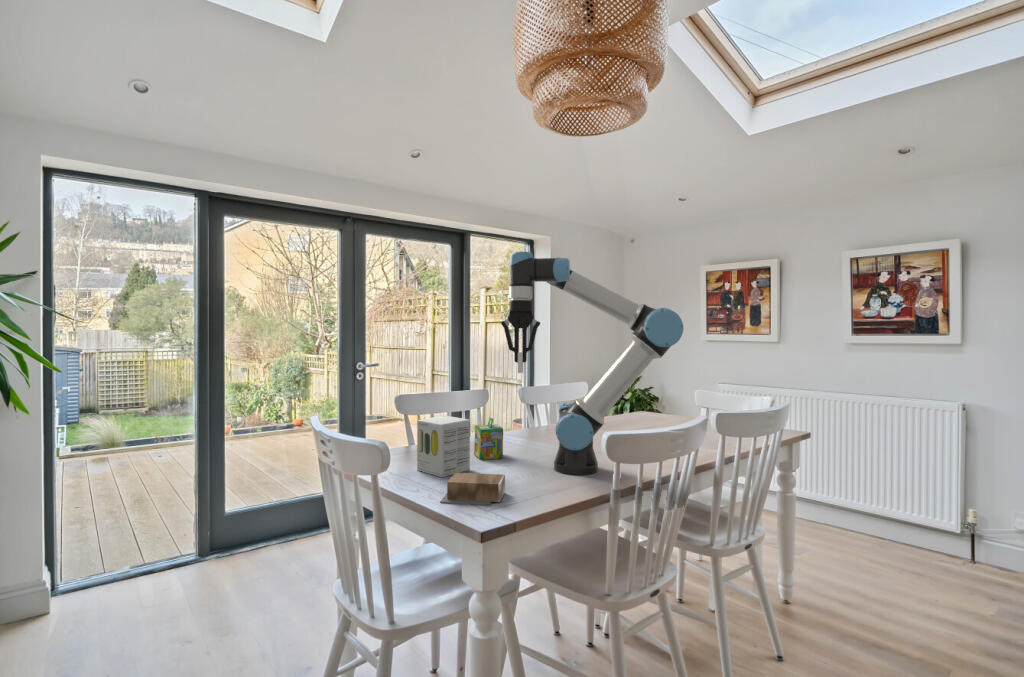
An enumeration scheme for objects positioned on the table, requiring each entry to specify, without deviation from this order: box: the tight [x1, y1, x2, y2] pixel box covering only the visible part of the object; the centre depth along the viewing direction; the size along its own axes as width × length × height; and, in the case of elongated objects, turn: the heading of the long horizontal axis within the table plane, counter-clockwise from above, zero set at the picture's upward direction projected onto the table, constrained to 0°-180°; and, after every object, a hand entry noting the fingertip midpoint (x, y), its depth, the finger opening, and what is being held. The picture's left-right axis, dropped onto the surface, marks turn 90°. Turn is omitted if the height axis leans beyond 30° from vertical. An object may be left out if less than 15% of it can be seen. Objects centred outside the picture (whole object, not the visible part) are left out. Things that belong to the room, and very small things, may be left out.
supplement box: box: [416, 415, 471, 478], centre depth 186 cm, size 13×13×18 cm
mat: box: [439, 493, 492, 506], centre depth 159 cm, size 14×16×1 cm
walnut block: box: [446, 472, 506, 503], centre depth 157 cm, size 5×10×15 cm
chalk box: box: [473, 417, 504, 461], centre depth 205 cm, size 9×9×15 cm
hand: (520, 372), depth 177 cm, fingers closed
